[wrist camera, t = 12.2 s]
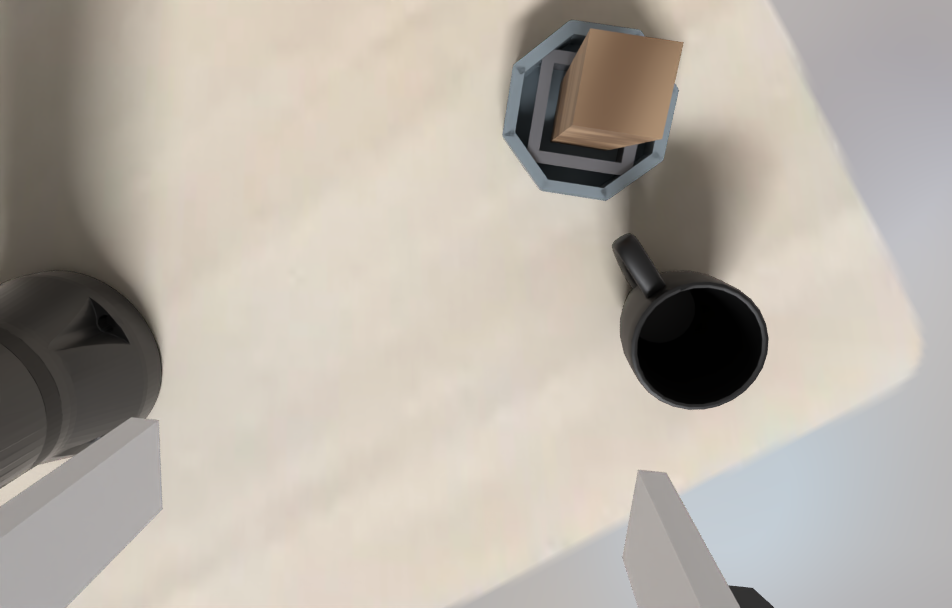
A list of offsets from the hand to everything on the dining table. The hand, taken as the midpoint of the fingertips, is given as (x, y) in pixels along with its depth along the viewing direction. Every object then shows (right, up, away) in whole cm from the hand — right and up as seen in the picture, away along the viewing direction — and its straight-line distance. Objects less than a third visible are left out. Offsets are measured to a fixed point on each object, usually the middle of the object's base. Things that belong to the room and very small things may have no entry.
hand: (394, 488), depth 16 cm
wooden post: (+10, +18, +25) cm, 32 cm away
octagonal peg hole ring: (+10, +18, +25) cm, 33 cm away
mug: (+15, +6, +28) cm, 33 cm away
